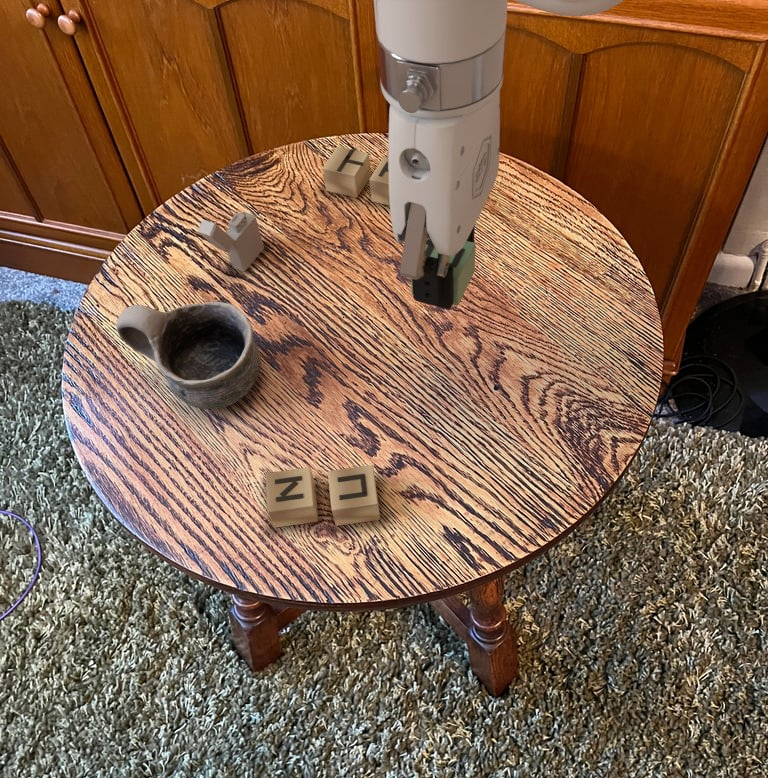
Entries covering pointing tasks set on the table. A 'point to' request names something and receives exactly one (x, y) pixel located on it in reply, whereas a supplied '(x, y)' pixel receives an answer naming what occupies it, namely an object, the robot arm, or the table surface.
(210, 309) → the mug
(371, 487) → the left tile
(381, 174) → the right tile t
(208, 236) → the grey y-shaped block
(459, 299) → the green number block
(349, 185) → the beige letter block
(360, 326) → the table surface
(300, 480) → the left tile
